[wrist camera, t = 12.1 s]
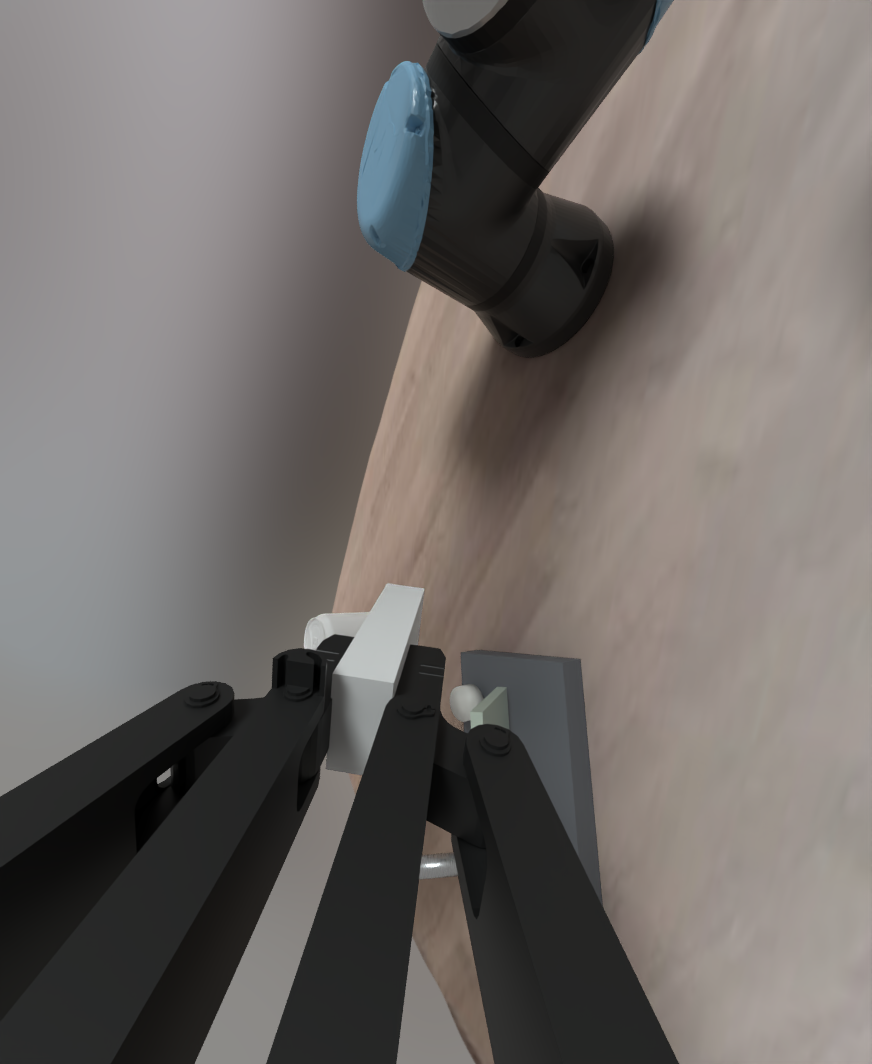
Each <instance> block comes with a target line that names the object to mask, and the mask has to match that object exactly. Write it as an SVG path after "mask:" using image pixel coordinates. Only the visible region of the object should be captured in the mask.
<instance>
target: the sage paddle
mask: <svg viewBox="0 0 872 1064" xmlns="http://www.w3.org/2000/svg"><path fill="white" fill-rule="evenodd" d="M470 718H471V729H472V728H474V727H475V726H477V725H482V724H493V725H499V726H501V727H504V728H506V729H509V716H508V699H507V687H496V688H495V689H494V690H493V691H492V692H491V693H490V694H489V695H488V696H487V697H486V698H484V699H483V700H482V701H481V702H480V703H479V704H478V705H477V706H476V707H475V708H474V709H472V710H471V711H470Z"/></svg>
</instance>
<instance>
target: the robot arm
mask: <svg viewBox="0 0 872 1064" xmlns="http://www.w3.org/2000/svg"><path fill="white" fill-rule="evenodd" d="M422 1H423V5H424V9H425V12H426V14H427V17H428V19H429V21H430V22H431V24H432V26H433V27H434V28H435V29H436V30H437V32H438V33H439V34H440V37H439V39H438V41H437V44H436V46H435V49H434V51H433V53H432V55H431V57H430V59H429V61H428V63H427V65H426V67H425V69H423V68H422V67H421V66H420V65H419V64H418V63H411V62H409V61H404V62H402V63H400V64H399V65H398V66H397V67H396V68H395V69H394V70H393V72H392V74H391V77H390V80H389V81H388V82H386V83H385V85H384V87H383V89H382V92H381V94H380V96H379V98H378V101H377V104H376V106H375V109H374V112H373V115H372V118H371V122H370V125H369V129H368V132H367V136H366V141H365V144H364V149H363V154H362V159H361V165H360V171H359V180H358V191H357V211H358V219H359V224H360V228H361V231H362V234H363V236H364V238H365V239H366V241H367V243H368V244H369V245H370V246H371V247H372V248H373V249H374V250H376V251H377V252H379V253H380V254H382V255H383V256H385V257H386V258H387V259H389V260H390V261H392V262H393V263H395V265H396V266H397V267H398V268H399V269H400V270H402V271H404V272H405V271H407V272H408V273H410V274H412V275H413V276H415V277H417V278H419V279H421V280H422V281H424V282H425V283H427V284H429V285H431V286H432V287H434V288H436V289H438V290H439V291H441V292H443V293H444V294H446V295H448V296H450V297H451V298H453V299H455V300H456V301H458V302H460V303H462V304H464V305H465V306H467V307H469V308H470V309H472V310H473V311H475V313H476V314H477V315H478V317H479V318H480V320H481V321H482V322H483V324H484V325H485V326H486V328H487V329H488V330H489V332H490V333H491V335H492V336H493V337H494V339H495V340H496V341H497V342H498V343H499V344H500V345H501V346H502V347H504V348H505V349H507V350H509V351H511V352H512V353H514V354H516V355H518V356H522V357H537V356H541V355H544V354H546V353H549V352H551V351H553V350H554V349H556V348H558V347H559V346H561V345H562V344H564V343H565V342H566V341H567V340H569V339H570V338H571V337H572V336H573V335H574V334H575V333H576V332H577V331H578V330H579V329H580V328H581V327H582V326H583V324H584V323H585V322H586V321H587V319H588V318H589V317H590V315H591V314H592V312H593V311H594V309H595V308H596V306H597V304H598V302H599V301H600V299H601V297H602V295H603V292H604V290H605V288H606V285H607V282H608V280H609V276H610V273H611V268H612V263H613V241H612V237H611V234H610V231H609V229H608V227H607V226H606V225H605V223H604V222H603V221H602V220H601V219H600V218H599V217H598V216H597V215H596V214H595V213H594V212H593V211H592V210H591V209H589V208H588V207H586V206H584V205H581V204H578V203H575V202H572V201H568V200H565V199H562V198H559V197H555V196H552V195H549V194H546V193H543V192H542V191H541V190H540V189H539V188H538V187H539V186H540V184H541V183H542V181H543V180H544V179H545V177H546V176H547V175H548V173H549V172H550V171H551V169H552V168H553V167H554V165H555V164H556V163H557V161H558V160H559V159H560V157H561V156H562V155H563V153H564V152H565V151H566V149H567V148H568V147H569V145H570V144H571V143H572V141H573V140H574V139H575V137H576V136H577V135H578V133H579V132H580V131H581V129H582V128H583V127H584V125H585V124H586V123H587V121H588V120H589V119H590V117H591V116H592V115H593V113H594V112H595V111H596V109H597V108H598V107H599V105H600V104H601V103H602V101H603V100H604V99H605V97H606V96H607V95H608V93H609V92H610V91H611V89H612V88H613V87H614V85H615V84H616V83H617V81H618V80H619V79H620V77H621V76H622V75H623V73H624V72H625V71H626V70H627V68H628V67H629V66H630V64H631V63H632V62H633V60H634V59H635V58H636V56H637V55H638V54H640V53H641V51H642V50H643V49H644V47H645V45H646V44H647V43H648V42H649V40H650V39H651V37H652V35H653V33H654V30H655V28H656V26H657V24H658V23H659V21H660V20H661V19H662V17H663V16H664V14H665V13H666V11H667V10H668V8H669V7H670V5H671V4H672V2H673V1H674V0H422ZM423 598H424V588H417V587H410V586H403V585H396V584H389V583H387V585H386V586H385V588H384V590H383V591H382V593H381V594H380V596H379V598H378V599H377V601H376V603H375V604H374V606H373V608H372V609H371V611H370V613H369V614H368V616H367V618H366V619H365V621H364V622H363V624H362V626H361V627H360V629H359V631H358V632H357V634H356V636H355V637H351V636H344V635H337V634H334V635H332V636H330V637H328V638H326V639H324V640H323V641H322V642H321V643H320V645H319V646H318V647H317V649H316V650H312V649H302V648H298V649H292V650H287V651H285V652H282V653H279V654H278V655H277V656H275V657H274V658H273V669H272V670H273V672H272V689H271V690H270V691H269V692H268V694H267V695H266V696H265V697H263V698H255V699H238V700H234V691H233V689H232V687H231V686H229V685H227V684H226V683H221V682H216V681H215V682H202V683H198V684H194V685H190V686H188V687H186V688H184V689H182V690H180V691H178V692H176V693H175V694H173V695H171V696H170V697H168V698H166V699H165V700H163V701H161V702H159V703H158V704H156V705H154V706H153V707H151V708H149V709H148V710H146V711H145V712H143V713H141V714H139V715H137V716H136V717H134V718H132V719H131V720H129V721H127V722H126V723H124V724H122V725H121V726H119V727H118V728H116V729H114V730H112V731H110V732H109V733H107V734H105V735H104V736H102V737H100V738H99V739H97V740H95V741H94V742H92V743H90V744H89V745H87V746H85V747H83V748H82V749H80V750H78V751H77V752H75V753H74V754H72V755H70V756H68V757H67V758H65V759H63V760H62V761H60V762H58V763H57V764H55V765H53V766H51V767H50V768H48V769H46V770H45V771H43V772H41V773H40V774H38V775H36V776H35V777H33V778H31V779H29V780H28V781H26V782H24V783H23V784H21V785H19V786H18V787H16V788H14V789H13V790H11V791H9V792H7V793H6V794H4V795H2V796H1V797H0V1064H195V1061H196V1059H197V1057H198V1054H199V1052H200V1050H201V1048H202V1046H203V1043H204V1041H205V1039H206V1037H207V1034H208V1032H209V1030H210V1028H211V1025H212V1023H213V1021H214V1019H215V1016H216V1014H217V1012H218V1010H219V1008H220V1005H221V1003H222V1001H223V998H224V996H225V994H226V992H227V990H228V987H229V985H230V983H231V980H232V978H233V976H234V974H235V972H236V969H237V967H238V965H239V963H240V960H241V958H242V956H243V954H244V951H245V949H246V947H247V945H248V942H249V940H250V938H251V936H252V933H253V931H254V929H255V927H256V924H257V922H258V920H259V918H260V915H261V913H262V911H263V909H264V906H265V904H266V902H267V900H268V897H269V895H270V893H271V891H272V889H273V886H274V884H275V882H276V880H277V877H278V875H279V873H280V871H281V868H282V866H283V864H284V862H285V859H286V857H287V855H288V853H289V850H290V848H291V846H292V844H293V841H294V839H295V837H296V835H297V832H298V830H299V828H300V826H301V823H302V821H303V819H304V816H305V814H306V812H307V810H308V808H309V806H310V803H311V801H312V799H313V796H314V794H315V792H316V790H317V788H318V784H319V779H320V766H321V764H322V762H323V760H324V757H325V756H326V753H327V759H326V769H328V770H334V771H340V772H346V773H352V774H357V775H362V778H361V781H360V784H359V787H358V790H357V793H356V796H355V799H354V802H353V805H352V808H351V811H350V814H349V817H348V820H347V823H346V826H345V829H344V833H343V835H342V838H341V841H340V844H339V847H338V850H337V853H336V856H335V859H334V862H333V865H332V868H331V871H330V874H329V877H328V880H327V883H326V886H325V889H324V892H323V895H322V898H321V901H320V904H319V907H318V910H317V913H316V916H315V919H314V923H313V925H312V928H311V931H310V934H309V937H308V940H307V943H306V946H305V949H304V952H303V955H302V958H301V961H300V964H299V967H298V970H297V973H296V976H295V979H294V982H293V985H292V988H291V991H290V994H289V997H288V1000H287V1003H286V1006H285V1009H284V1012H283V1015H282V1018H281V1021H280V1024H279V1027H278V1030H277V1033H276V1036H275V1039H274V1042H273V1045H272V1048H271V1051H270V1054H269V1057H268V1060H267V1063H266V1064H396V1061H397V1053H398V1045H399V1037H400V1029H401V1021H402V1013H403V1005H404V997H405V987H406V980H407V972H408V964H409V956H410V947H411V940H412V932H413V924H414V916H415V908H416V899H417V891H418V883H419V875H420V867H421V859H422V851H423V843H424V835H425V827H426V820H427V821H429V822H431V823H432V824H434V825H436V826H438V827H440V828H442V829H444V830H446V831H448V832H450V833H451V842H452V847H453V852H454V857H455V862H456V868H457V873H458V878H459V883H460V888H461V893H462V898H463V904H464V909H465V914H466V919H467V924H468V929H469V934H470V940H471V945H472V950H473V955H474V960H475V965H476V971H477V976H478V981H479V986H480V991H481V996H482V1001H483V1007H484V1012H485V1017H486V1022H487V1027H488V1032H489V1038H490V1043H491V1048H492V1053H493V1058H494V1063H495V1064H679V1063H678V1061H677V1059H676V1057H675V1055H674V1052H673V1050H672V1048H671V1046H670V1044H669V1042H668V1040H667V1038H666V1036H665V1034H664V1032H663V1030H662V1028H661V1026H660V1024H659V1022H658V1020H657V1017H656V1015H655V1013H654V1011H653V1009H652V1007H651V1005H650V1003H649V1001H648V999H647V997H646V995H645V993H644V991H643V989H642V987H641V985H640V983H639V980H638V978H637V976H636V974H635V972H634V970H633V968H632V966H631V964H630V962H629V960H628V958H627V956H626V954H625V952H624V950H623V948H622V946H621V943H620V941H619V939H618V937H617V935H616V933H615V931H614V929H613V927H612V925H611V923H610V921H609V919H608V917H607V915H606V913H605V911H604V908H603V906H602V904H601V902H600V900H599V898H598V896H597V894H596V892H595V890H594V888H593V886H592V884H591V882H590V880H589V878H588V876H587V874H586V871H585V869H584V867H583V865H582V863H581V861H580V859H579V857H578V855H577V853H576V851H575V849H574V847H573V845H572V843H571V841H570V839H569V837H568V834H567V832H566V830H565V828H564V826H563V824H562V822H561V820H560V818H559V816H558V814H557V812H556V810H555V808H554V806H553V804H552V802H551V799H550V797H549V795H548V793H547V791H546V789H545V787H544V785H543V783H542V781H541V779H540V777H539V775H538V773H537V771H536V769H535V767H534V765H533V762H532V760H531V758H530V756H529V754H528V752H527V750H526V748H525V746H524V744H523V743H522V741H521V740H520V739H519V737H518V736H517V735H516V734H514V733H513V732H512V731H510V730H509V729H506V728H504V727H501V726H499V725H493V724H482V725H477V726H475V727H474V728H472V729H470V731H469V732H468V733H465V732H463V731H461V730H459V729H457V728H455V727H453V726H452V725H450V724H449V723H448V722H447V721H446V720H445V719H444V718H443V716H442V714H441V711H440V702H441V694H442V686H443V678H444V669H445V661H446V657H445V656H444V654H443V652H442V651H441V649H438V648H431V647H425V646H418V640H419V631H420V623H421V614H422V606H423ZM170 767H171V776H170V777H168V778H167V779H166V780H165V781H163V782H161V783H159V784H157V777H159V776H160V775H161V774H163V773H164V772H165V771H167V770H168V769H169V768H170Z"/></svg>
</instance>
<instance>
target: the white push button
mask: <svg viewBox="0 0 872 1064" xmlns="http://www.w3.org/2000/svg"><path fill="white" fill-rule="evenodd" d="M483 699H484V698H483V695H482V693H481V691H480V690H479V688H478V687H477V686H475V685H473V684H467V685H462V686H457V687H455V688H454V689H453V690H452V692H451V695H450V707H451V710H452V712H453V714H454V716H455V717H456V718H457V719H458V720H459V721H461V722H466V721H469V720H471V718H470V711H471V710H472V709H474V708H475V707H476V706H477V705H478V704H479V703H480V702H481V701H482V700H483Z"/></svg>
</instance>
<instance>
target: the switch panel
mask: <svg viewBox="0 0 872 1064" xmlns="http://www.w3.org/2000/svg"><path fill="white" fill-rule="evenodd" d="M461 670H462V685H467V684H473V685H475V686H477V687H478V688H479V690H480V691H481V693H482V695H483V698H486V697H487V696H488V695H489V694H490V693H491V692H492V691H493V690H494V689H495V688H496V687H507V699H508V716H509V730H510V731H512V732H513V733H514V734H516V735H517V736H518V737H519V739H520V740H521V741H522V743H523V744H524V746H525V748H526V750H527V752H528V754H529V756H530V758H531V760H532V762H533V765H534V767H535V769H536V771H537V773H538V775H539V777H540V779H541V781H542V783H543V785H544V787H545V789H546V791H547V793H548V795H549V797H550V799H551V802H552V804H553V806H554V808H555V810H556V812H557V814H558V816H559V818H560V820H561V822H562V824H563V826H564V828H565V830H566V832H567V834H568V837H569V839H570V841H571V843H572V845H573V847H574V849H575V851H576V853H577V855H578V857H579V859H580V861H581V863H582V865H583V867H584V869H585V871H586V874H587V876H588V878H589V880H590V882H591V884H592V886H593V888H594V890H595V892H596V894H597V896H598V898H599V900H600V902H601V904H602V894H601V883H600V872H599V861H598V850H597V839H596V827H595V816H594V805H593V794H592V783H591V772H590V761H589V750H588V738H587V727H586V716H585V705H584V694H583V683H582V672H581V661H580V659H574V658H563V657H552V656H541V655H530V654H519V653H507V652H496V651H485V650H474V651H467V652H461ZM470 729H471V720H469V721H466V722H464V732H465V733H468V732H469V731H470ZM602 906H603V905H602Z"/></svg>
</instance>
